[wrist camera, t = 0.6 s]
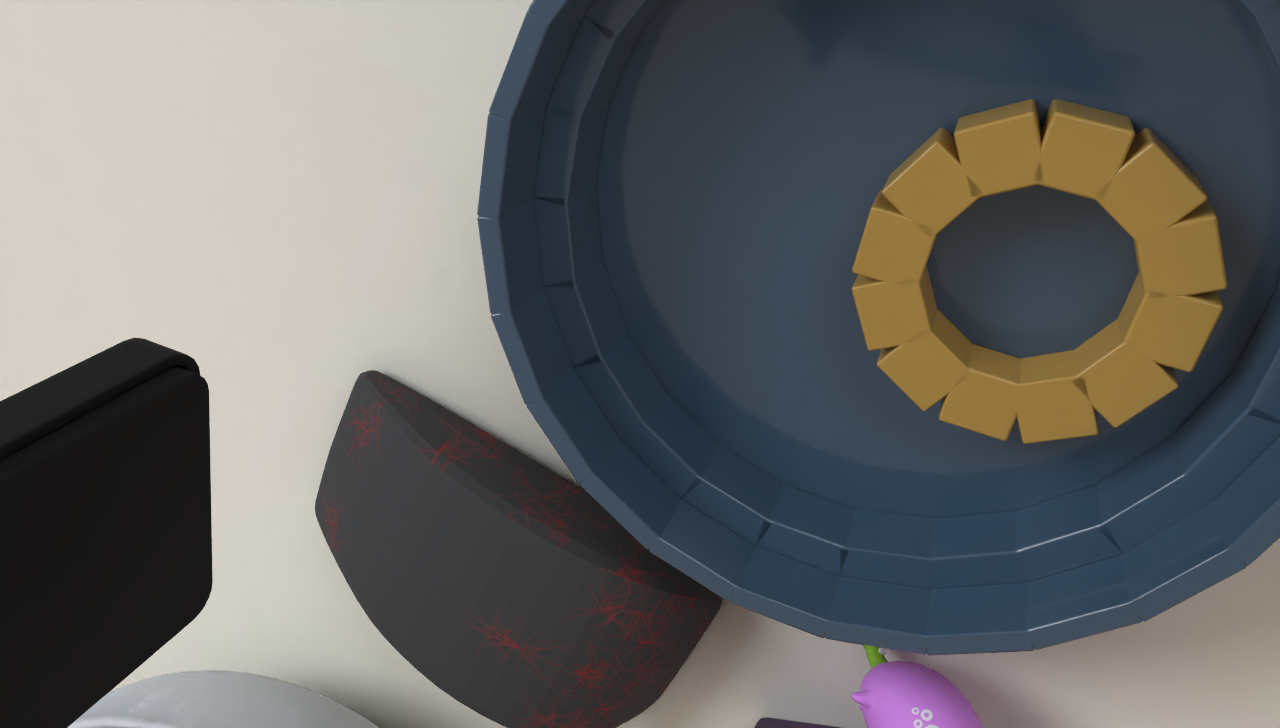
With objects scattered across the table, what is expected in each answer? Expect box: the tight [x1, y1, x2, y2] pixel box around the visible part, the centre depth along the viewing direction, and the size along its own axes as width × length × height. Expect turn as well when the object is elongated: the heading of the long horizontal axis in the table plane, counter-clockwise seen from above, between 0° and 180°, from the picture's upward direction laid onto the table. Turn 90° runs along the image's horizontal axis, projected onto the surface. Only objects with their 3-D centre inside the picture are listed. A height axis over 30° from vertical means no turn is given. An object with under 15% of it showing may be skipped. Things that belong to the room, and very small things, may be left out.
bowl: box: [477, 0, 1280, 655], centre depth 24 cm, size 19×19×4 cm
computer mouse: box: [315, 371, 722, 728], centre depth 33 cm, size 8×14×4 cm, turn 65°
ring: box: [852, 99, 1228, 444], centre depth 24 cm, size 8×8×2 cm
